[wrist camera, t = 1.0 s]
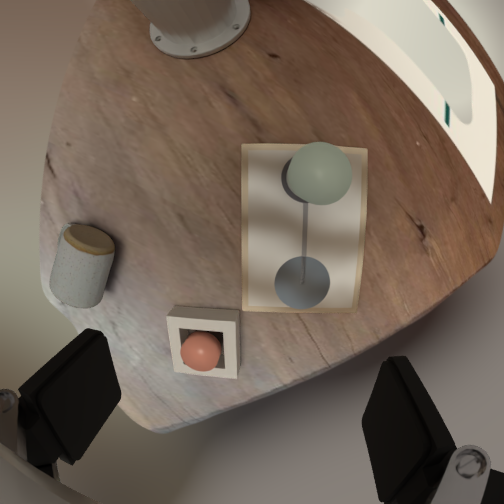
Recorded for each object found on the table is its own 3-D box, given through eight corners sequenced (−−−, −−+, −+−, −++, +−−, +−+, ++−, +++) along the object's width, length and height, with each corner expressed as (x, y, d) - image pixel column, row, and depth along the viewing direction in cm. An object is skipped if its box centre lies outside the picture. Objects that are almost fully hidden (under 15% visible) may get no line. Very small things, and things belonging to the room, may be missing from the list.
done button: (183, 329, 31) (178, 337, 29) (220, 332, 31) (216, 341, 29) (187, 359, 32) (182, 369, 30) (222, 363, 32) (219, 373, 30)
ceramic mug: (128, 242, 32) (91, 257, 25) (112, 296, 34) (78, 318, 27) (72, 207, 32) (32, 214, 25) (60, 258, 34) (24, 273, 27)
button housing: (175, 305, 33) (166, 315, 31) (239, 310, 33) (235, 321, 30) (181, 358, 35) (174, 371, 32) (240, 364, 35) (237, 378, 32)
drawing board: (243, 145, 28) (241, 143, 27) (364, 150, 27) (367, 148, 26) (243, 306, 33) (242, 311, 31) (354, 308, 31) (356, 313, 30)
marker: (286, 158, 27) (289, 140, 16) (325, 159, 27) (352, 144, 16) (285, 197, 28) (288, 204, 17) (325, 198, 28) (351, 206, 17)
